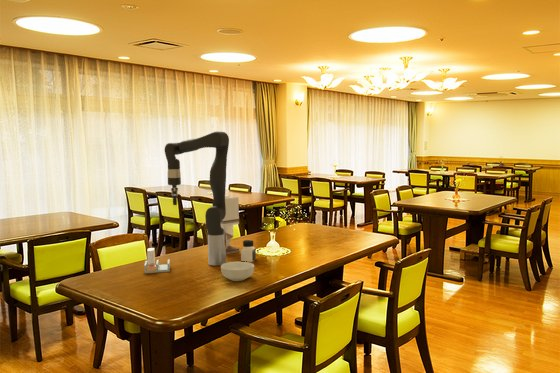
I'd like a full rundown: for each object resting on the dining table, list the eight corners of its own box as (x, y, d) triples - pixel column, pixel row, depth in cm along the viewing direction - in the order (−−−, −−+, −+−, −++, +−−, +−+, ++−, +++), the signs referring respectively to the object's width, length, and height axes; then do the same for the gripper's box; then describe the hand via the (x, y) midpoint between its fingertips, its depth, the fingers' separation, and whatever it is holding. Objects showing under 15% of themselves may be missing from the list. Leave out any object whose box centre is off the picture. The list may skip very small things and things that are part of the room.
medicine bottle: (252, 262, 263) (252, 241, 262) (240, 261, 264) (240, 241, 263) (255, 259, 270) (255, 239, 269) (244, 258, 271) (244, 238, 270)
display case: (224, 254, 282) (223, 198, 278) (215, 251, 290) (213, 197, 286) (239, 251, 289) (238, 197, 286) (229, 248, 297) (228, 195, 294)
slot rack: (145, 267, 252) (145, 260, 252) (169, 266, 255) (169, 259, 255) (144, 273, 242) (144, 265, 241) (169, 271, 245) (169, 263, 244)
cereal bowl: (240, 285, 219) (240, 271, 218) (214, 280, 228) (214, 266, 227) (260, 277, 233) (260, 263, 233) (235, 272, 242) (234, 259, 241)
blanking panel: (148, 266, 251) (147, 248, 250) (155, 265, 252) (154, 248, 251) (147, 268, 245) (147, 250, 244) (154, 268, 246) (153, 250, 245)
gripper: (180, 177, 261) (181, 205, 263) (180, 175, 275) (181, 202, 277) (167, 177, 260) (168, 205, 261) (167, 176, 274) (168, 202, 275)
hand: (174, 204), depth 269 cm, fingers open, 8 cm apart
